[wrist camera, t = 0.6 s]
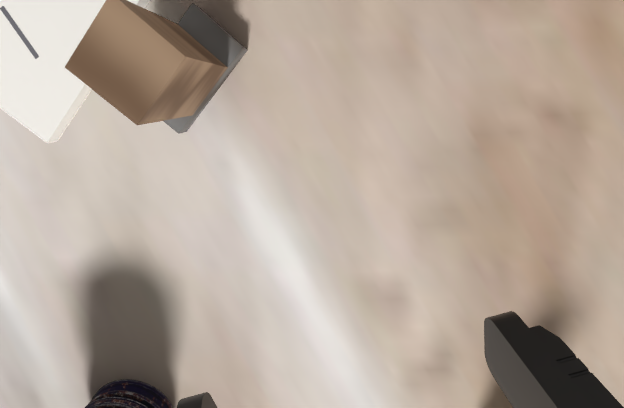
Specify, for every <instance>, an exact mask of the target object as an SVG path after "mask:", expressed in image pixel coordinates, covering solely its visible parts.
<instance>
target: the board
mask: <svg viewBox="0 0 624 408" xmlns="http://www.w3.org/2000/svg"><path fill="white" fill-rule="evenodd" d="M105 1H106V0H0V108H1V109H2V110H3V111H5V112H6V113H7V114H9V115H10V116H11V117H13V118H14V119H15V120H17V121H18V122H19V123H20V124H22V125H23V126H24V127H26V128H27V129H28V130H30V131H31V132H32V133H34V134H35V135H36V136H38V137H39V138H40V139H42V140H43V141H44V142H46V143H51V142H57V141H59V139H60V138H61V136H62V135H63V133H64V131H65V130H66V128H67V127H68V125H69V124H70V122H71V121H72V119H73V118H74V116H75V115H76V113H77V112H78V110H79V109H80V107H81V106H82V104H83V102H84V101H85V99H86V98H87V96H88V95H89V93H90V92H91V90H92V89H91V88H90V87H89V86H87V85H86V84H85V83H84V82H82V81H81V80H80V79H79V78H77V77H76V76H75V75H74V74H72V73H71V72H70V71H69V70H67V69H66V68H65V65H66V64H67V62H68V61H69V59H70V57H71V56H72V54H73V53H74V51H75V49H76V48H77V46H78V45H79V43H80V41H81V40H82V38H83V37H84V35H85V33H86V32H87V30H88V29H89V27H90V25H91V24H92V22H93V21H94V19H95V17H96V16H97V14H98V13H99V11H100V9H101V8H102V6H103V5H104V3H105ZM127 1H129V2H131V3H134V4H136V5H138V6H140V7H142V8H144V9H145V8H146V6H147V5H148V3H149V2H150V0H127Z"/></svg>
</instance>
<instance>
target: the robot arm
mask: <svg viewBox="0 0 624 408" xmlns="http://www.w3.org/2000/svg"><path fill="white" fill-rule="evenodd" d="M484 342H485V358H486V362H487V364H488V367H489V369H490V371H491V373H492V375H493V377H494V378H495V380H496V382H497V383H498V385H499V386H500V388H501V389H502V391H503V392H504V394H505V396H506V397H507V399H508V400H509V402H510V403H511V405H512V406H513V408H624V407H623V406H622V405H621V404H620V403H619V402H618V401H617V400H616V399H615V398H614V397H613V395H612V394H611V393H610V392H609V391H608V390H607V389H606V388H605V387H604V386H603V385H602V383H601V382H600V381H599V380H598V379H597V378H596V377H595V376H594V375H593V374H592V373H590V372H589V370H588V368H587V367H586V366H585V365H584V364H583V363H582V362H581V360H580V359H579V358H576V356H575V354H574V353H573V352H572V351H571V350H570V348H569V347H568V346H567V345H566V344H565V343H564V342H563V341H562V340H561V339H560V338H559V337H557V336H556V335H554V334H553V333H551V332H549V331H548V330H546V329H544V328H543V327H541V326H535V327H532V328H528V326H527V325H526V324H525V323H524V322H523V321H522V319H521V318H520V317H519V316H518V315H517V314H516V313H515V312H512V311H510V312H507V313H503V314H499V315H495V316H492V317H488V318H485V321H484ZM177 408H217V406H216V404H215V402H214V401H213V399H212V397H211V395H210V394H209V393H208V392H206V393H202V394H198V395H195V396H191V397H187V398H184V399H181V400H180V401H179V402H178V405H177Z"/></svg>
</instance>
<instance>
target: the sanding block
mask: <svg viewBox="0 0 624 408" xmlns="http://www.w3.org/2000/svg"><path fill="white" fill-rule="evenodd" d="M246 52H247V49H246V48H245V47H244V46H242V45H241V44H240V43H239V42H238V41H237V40H236V39H234V38H233V37H232V36H231V35H230V34H229V33H228V32H227V31H225V30H224V29H223V28H222V27H221V26H220V25H219V24H218V23H216V22H215V21H214V20H213V19H212V18H211V17H210V16H208V15H207V14H206V13H205V12H204V11H203V10H202V9H201V8H199V7H198V6H196V5H195V4H193V3H192V4H191V6H190V7H189V9H188V10H187V12H186V13H185V14H184V16H183V17H182V19H181V20H180V22H179V23H178V24H176V23H174V22H172V21H170V20H168V19H166V18H163V17H161V16H159V15H157V14H155V13H153V12H151V11H148V10H146V9H144V8H142V7H140V6H138V5H136V4H134V3H131V2H129V1H127V0H106V1H105V3H104V5H103V6H102V8H101V9H100V11H99V13H98V14H97V16H96V17H95V19H94V21H93V22H92V24H91V25H90V27H89V29H88V30H87V32H86V33H85V35H84V37H83V38H82V40H81V41H80V43H79V45H78V46H77V48H76V49H75V51H74V53H73V54H72V56H71V57H70V59H69V61H68V62H67V64H66V65H65V68H66V69H67V70H69V71H70V72H71V73H72V74H74V75H75V76H76V77H77V78H79V79H80V80H81V81H82V82H84V83H85V84H86V85H87V86H89V87H90V88H91V89H92V90H94V91H95V92H96V93H97V94H99V95H100V96H101V97H102V98H104V99H105V100H106V101H107V102H109V103H110V104H111V105H112V106H114V107H115V108H116V109H117V110H119V111H120V112H121V113H123V114H124V115H125V116H126V117H128V118H129V119H130V120H131V121H133V122H134V123H135V124H136V125H141V124H147V123H153V122H158V121H164V122H165V123H166V124H167V125H169V126H170V127H171V128H172V129H174V130H175V131H176V132H177V133H183V132H186V131H187V130H188V129H189V128H190V126H191V125H192V124H193V122H194V121H195V120H196V118H197V117H198V116H199V114H200V113H201V112H202V110H203V109H204V108H205V106H206V105H207V104H208V102H209V101H210V100H211V98H212V97H213V96H214V94H215V93H216V92H217V90H218V89H219V88H220V86H221V85H222V84H223V82H224V81H225V80H226V78H227V77H228V76H229V74H230V73H231V72H232V70H233V69H234V68H235V66H236V65H237V64H238V62H239V61H240V60H241V58H242V57H243V56H244V54H245V53H246Z"/></svg>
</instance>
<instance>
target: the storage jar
mask: <svg viewBox="0 0 624 408" xmlns="http://www.w3.org/2000/svg"><path fill="white" fill-rule="evenodd" d="M85 408H173V407H172V405H171V403H170V401H169V400H168V399H167V397H166V396H165V395H164V394H163V393H162V392H160V391H159V390H158V389H156V388H155V387H153V386H151V385H149V384H147V383H144V382H141V381H136V380H118V381H114V382H111V383H108V384H107V385H105V386H103V387H102V388H101V389H100V390H99V391H98V392H97V393H96V394H95V396H94V397H93V399H92V400H91V401H90V403H89V404H88V405H87V406H86V407H85Z"/></svg>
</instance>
